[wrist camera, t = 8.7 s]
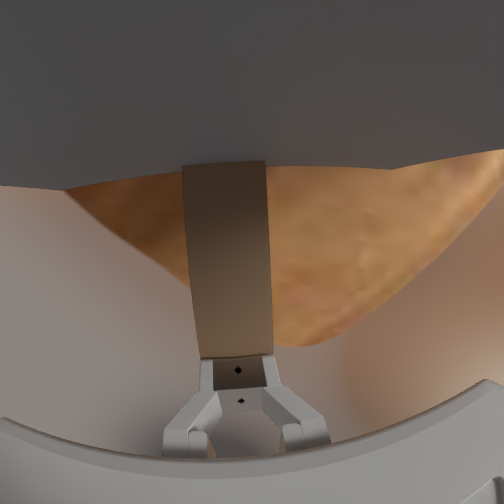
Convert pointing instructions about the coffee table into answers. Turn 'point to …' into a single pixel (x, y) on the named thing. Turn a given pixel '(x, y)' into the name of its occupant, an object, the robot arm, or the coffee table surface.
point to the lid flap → (241, 112)
